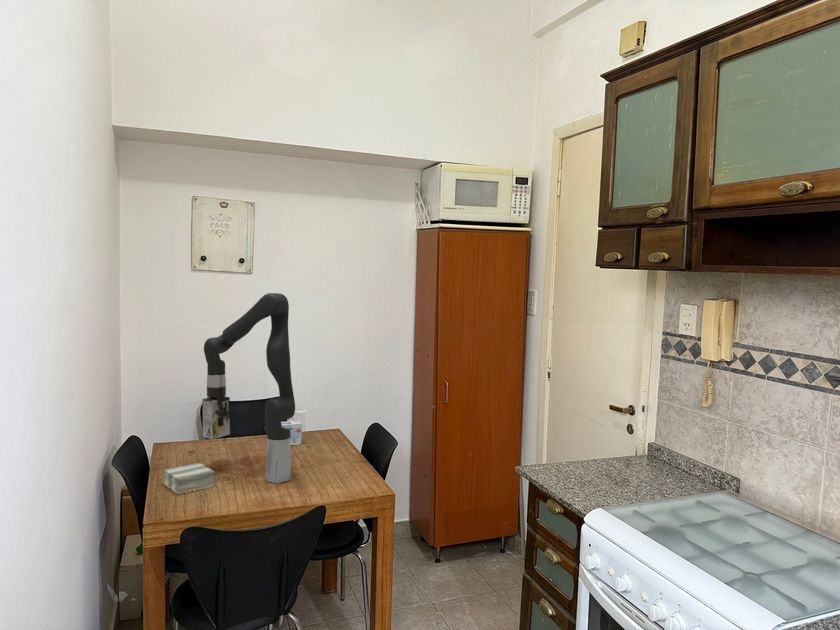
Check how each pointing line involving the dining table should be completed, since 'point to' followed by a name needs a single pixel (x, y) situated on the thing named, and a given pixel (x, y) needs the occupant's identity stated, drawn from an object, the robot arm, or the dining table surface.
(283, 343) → the robot arm
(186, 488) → the tower base
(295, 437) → the light bulb box
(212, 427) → the coffee box
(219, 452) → the dining table surface
